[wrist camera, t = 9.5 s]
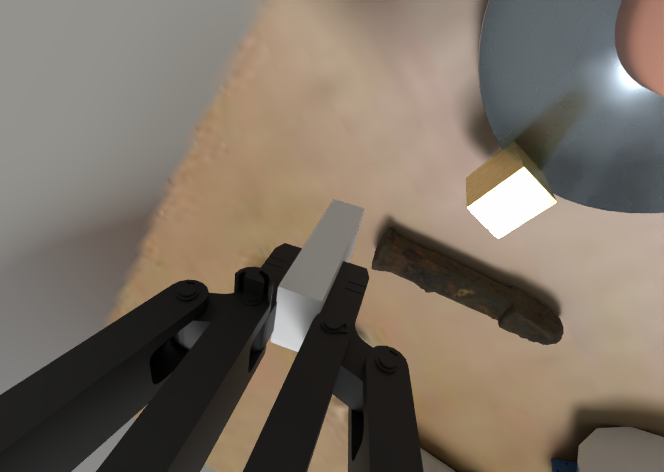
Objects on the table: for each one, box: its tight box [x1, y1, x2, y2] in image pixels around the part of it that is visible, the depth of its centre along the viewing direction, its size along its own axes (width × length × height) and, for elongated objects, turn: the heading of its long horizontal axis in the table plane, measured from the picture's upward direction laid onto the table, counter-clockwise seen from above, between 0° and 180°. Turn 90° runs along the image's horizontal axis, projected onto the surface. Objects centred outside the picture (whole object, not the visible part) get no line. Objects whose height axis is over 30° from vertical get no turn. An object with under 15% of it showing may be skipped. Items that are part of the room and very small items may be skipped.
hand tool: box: [372, 227, 563, 345], centre depth 36 cm, size 19×4×5 cm, turn 69°
